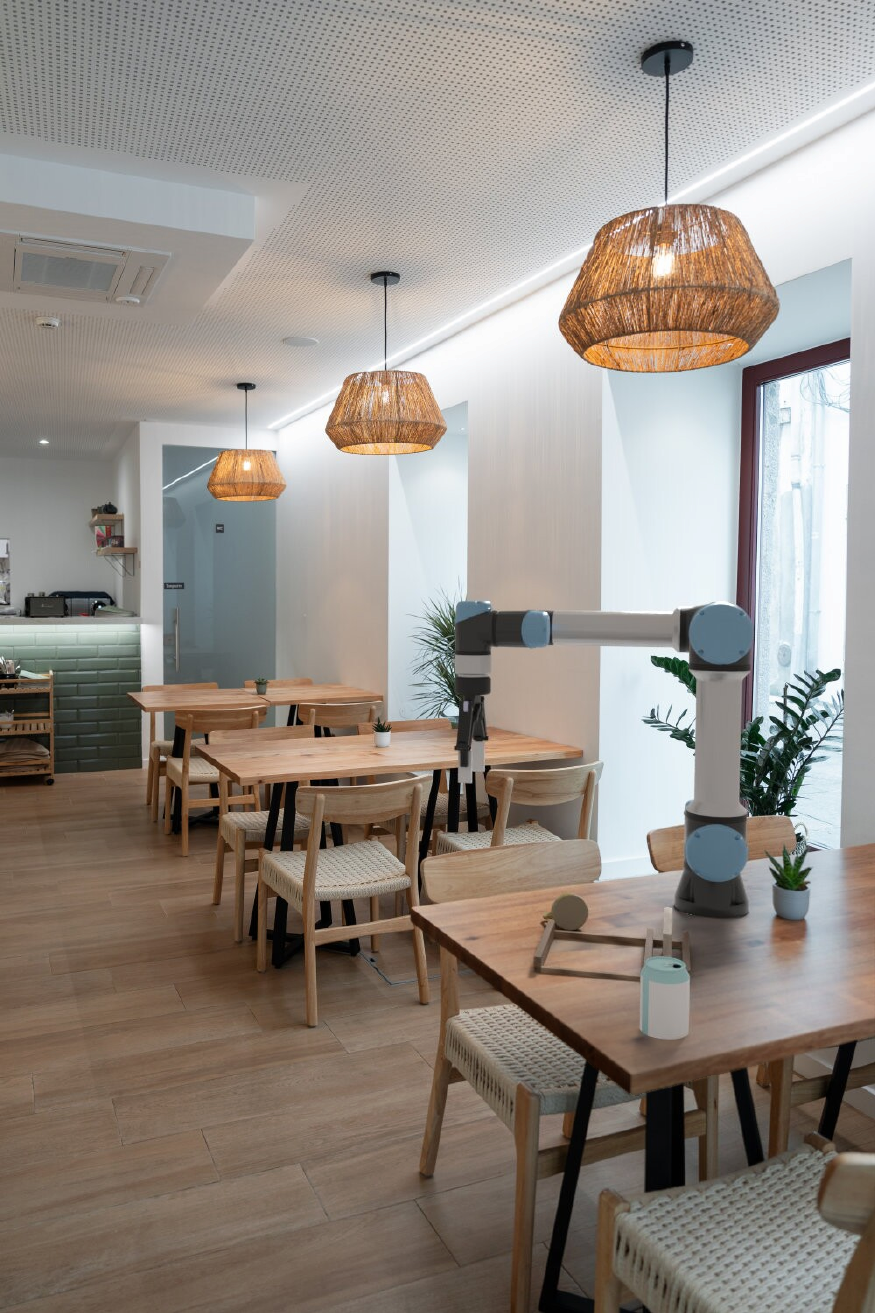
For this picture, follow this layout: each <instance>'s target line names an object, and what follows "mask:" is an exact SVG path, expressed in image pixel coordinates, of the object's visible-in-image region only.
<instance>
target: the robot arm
mask: <svg viewBox="0 0 875 1313" xmlns="http://www.w3.org/2000/svg"><path fill="white" fill-rule="evenodd" d="M454 618H455V619H454V623H453V624H454V654H455V655H454V658H453V659H452V660H451V662H452V663H453V664H455V665H454V674H457V675H455V677H454V693H455V694H456V695H459V696H464V697H463V700H460V701H459V713H458V714H459V715H458V724H457V734H456V741H455V742H456V744H455V745H454V748H453V750H454V751H457V753H458V754H457V756H458V760H457V761H458V763H457V765H458V766H457V767H458V768H457V769H458V770H457V772H458V773H457V783H459V784H460V783H461V784H462V783H463V784H473V772H475V773H477V772H479V773H485V770H486V768H485V766H486V764H485V763H486V762H485V761H486V760H485V759H486V742H488V741H489V739H490V738H489V737H490V736H489V735H488V732H487V721H486V709H485V696H488V695H490V694H491V691H492V690H491V688H492V687H491V684H492V683H491V682H492V681H491V680H492V679H491V677H490V676H489V675H490V674H491V673H492V647H494V648H499V647H500V648H519V649H520V648H523V649H524V648H527V649H536V648H537V649H538V648H540V649H541V648H546V647H547V646H575V647H576V646H580V647H581V646H582V647H583V646H584V647H587V646H588V647H630V648H631V647H632V648H635V647H637V648H672V649H673V650H675V651H676V652H677V653H688V672H690V674H691V675H692V676H693V677H694V678H695V679H696V682H695V683H696V685H695V686H696V688H695V690H696V692H695V732H694V733H695V735H694V736H695V737H694V740H695V741H694V777H693V778H694V781H693V782H694V784H693V787H694V788H693V789H694V790H693V799H689V800H688V801H686V803H685V805H684V811H683V815H684V836H683V841H684V842H683V871H682V873H681V876H680V878H679V882H678V885H677V887H676V890H675V892H674V907H675V909H676V910H678V911H680V912H681V911H682V912H681V913H684V914H686V913H688V914H687V915H690V914H692V915H691V916H694V915H695V916H696V917H699V916H700V918H706V917H707V918H709V919H733V918H740V917H743V915H744V916H746V915H747V914H748V913H749V905H750V902H749V898H748V894H747V892H746V888H745V884H744V881H743V878H742V874H741V872H743V870H744V869H745V867H746V866H747V862H748V860H749V856H750V855H749V853H750V852H749V847H748V843H747V837H748V836H747V831H748V830H747V823H748V810H747V808H746V807H744V806H743V805H742V804H741V802H740V789H741V788H740V782H741V780H740V779H741V741H742V740H741V738H742V736H741V735H742V702H743V701H742V700H743V699H742V696H743V689H742V688H743V680H744V678H746V677H747V676H749V674H750V673H751V670H752V669H751V666H752V665H751V663H752V661H751V660H752V658H751V657H752V645H753V642H754V638H755V629H754V624H753V621H752V619H751V617H750V615H749V614H748V613H747V612H746V610H744V609H743V608H742V607H740V606H739V605H737V604H735V603H733V602H730V601H723V600H720V601H712V602H709V603H706V604H701V605H694V606H678V607H677V608H676V609H674V610H671V611H670V610H669V611H668V610H667V611H666V610H663V611H662V610H660V611H658V610H644V611H643V610H638V611H637V610H539V609H538V610H536V609H526V610H496V609H493V607H492V603H491V601H489V600H488V601H487V600H481V601H480V600H460V601H459V602H457V603H456V605H455V616H454ZM745 914H746V915H745ZM695 916H694V917H695Z"/></svg>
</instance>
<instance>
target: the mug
mask: <svg viewBox="0 0 875 1313" xmlns="http://www.w3.org/2000/svg"><path fill="white" fill-rule="evenodd" d="M550 909H551V911H549V912H546V913H544V914H543V915H542V918H543V919H544V920H553V921H555V925H557V926H558V927H559V928H560V929H563V930H564V931H575V930H579V929H581V927H583V926H584V925H585V923H586V922H587V920H588V918H589V908H588V905H587V902H586V901H585V899H584V898H583V897H582V896H580V895H578V894H577V893H576V894H575V893H572V892H569V893H568V892H567V893H566V892H565V893H563V894H560V895H559V896H558V897H556V898H555V900H554V901H553V902H552V905H551V908H550Z"/></svg>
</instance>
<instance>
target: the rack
mask: <svg viewBox="0 0 875 1313" xmlns="http://www.w3.org/2000/svg"><path fill="white" fill-rule="evenodd" d="M555 928H556V923H555V921H554V920H553V919H548V921H547V923H546V926H545V928H544V931H543V933H542V936H541V938H540V940H539V944H538V945H537V948H536V951H535V953H534V957H533V973H543V974H556V975H568V976H580V977H591V978H593V977H594V978H604V979H617V980H629V981H639V982H640V977H641V974H632V973H626V972H625V973H622V972H610V971H604V970H603V971H600V970H591V969H578V968H569V967H559V966H550V965H549V966H547V965H545V963H546V960H547V958H548V956H549V953H564V952H581V951H595V950H596V951H598V950H612V949H615V950H616V949H630V948H631V949H632V948H633V949H634V948H644V956H643V967H644V966H645V961H646V960H647V959H648V958H651V957H653V950H654V947H662V956H664V957H672V949H673V948H677V949H681V959H682V960H681V961H683V962H684V963H685V965H686V967H685V968H686V970H687V972H688V973H689V975H690V976H691V955H690V954H691V953H690V952H691V950H690V931H686V930H682V931H681V934H682V935H681V940H679V939H678V940H677V939H672V938H673V935H672V934H673V907H668V906H664V907H663V931H662V932H663V935H662V938H656V937H654V928H650V927H646V933H645V935H646V936H645V937H643V936H633V935H632V936H631V935H619V934H608V933H607V934H606V933H596V932H585V931H584V932H583V931H574V930H572V931H569V930H561V929H560V930H559V929H558V930H557V929H555Z"/></svg>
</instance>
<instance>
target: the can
mask: <svg viewBox="0 0 875 1313" xmlns="http://www.w3.org/2000/svg"><path fill="white" fill-rule="evenodd" d="M685 967H686V965H685V963H684V962H683V961H682V960H681V959H679V958H675V957H672V956H671V957H664V956H663V955H662V956H660V955H659V956H652V957H651V958H648V959H647V960H646V961H645V966H644V965H643V967H642V969H641V970H640V975H641V977H640V981H639V982H640V984H639V985H640V987H639V990H640V993H639V1030H640V1032H641V1033H642V1034H644V1035H646V1036H648V1037H651V1038H654V1039H659V1040H670V1041H671V1040H673V1041H674V1040H680V1039H683V1038H686V1037H687V1036H688V1035H689V1034H690V1002H691V1000H690V998H691V997H690V996H691V995H690V992H691V974H690V975H689V973H688V972H687V970H686V968H685Z"/></svg>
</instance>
